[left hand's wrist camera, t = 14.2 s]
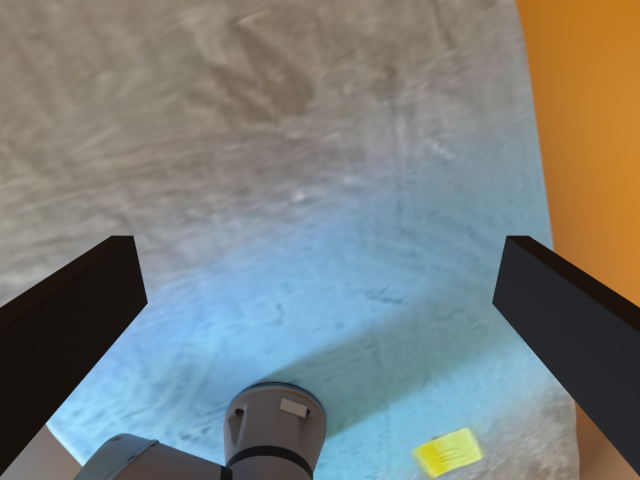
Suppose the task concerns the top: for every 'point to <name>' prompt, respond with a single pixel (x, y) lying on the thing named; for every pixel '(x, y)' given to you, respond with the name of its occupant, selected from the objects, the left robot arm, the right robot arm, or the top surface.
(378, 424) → the top surface
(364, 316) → the top surface
